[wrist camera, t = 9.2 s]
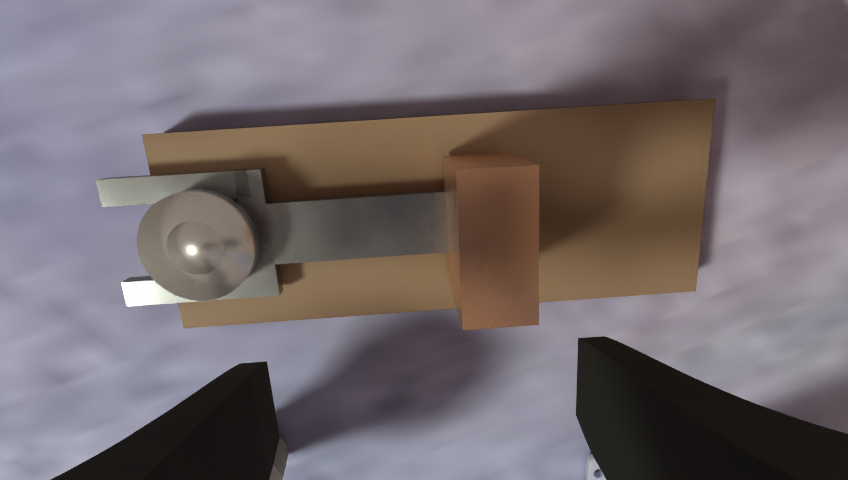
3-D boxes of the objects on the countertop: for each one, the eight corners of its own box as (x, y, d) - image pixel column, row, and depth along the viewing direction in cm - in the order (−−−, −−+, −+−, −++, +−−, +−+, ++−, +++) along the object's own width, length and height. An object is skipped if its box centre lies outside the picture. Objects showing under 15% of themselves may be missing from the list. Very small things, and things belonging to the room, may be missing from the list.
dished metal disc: (276, 276, 19) (260, 296, 17) (178, 283, 19) (150, 304, 17) (261, 180, 18) (242, 188, 16) (158, 187, 18) (125, 196, 16)
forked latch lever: (513, 273, 19) (548, 323, 15) (135, 300, 19) (47, 360, 14) (512, 151, 18) (549, 164, 13) (105, 177, 17) (-2, 200, 13)
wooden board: (676, 279, 21) (695, 290, 20) (198, 313, 21) (183, 328, 20) (691, 99, 19) (715, 98, 18) (162, 133, 19) (141, 134, 17)
